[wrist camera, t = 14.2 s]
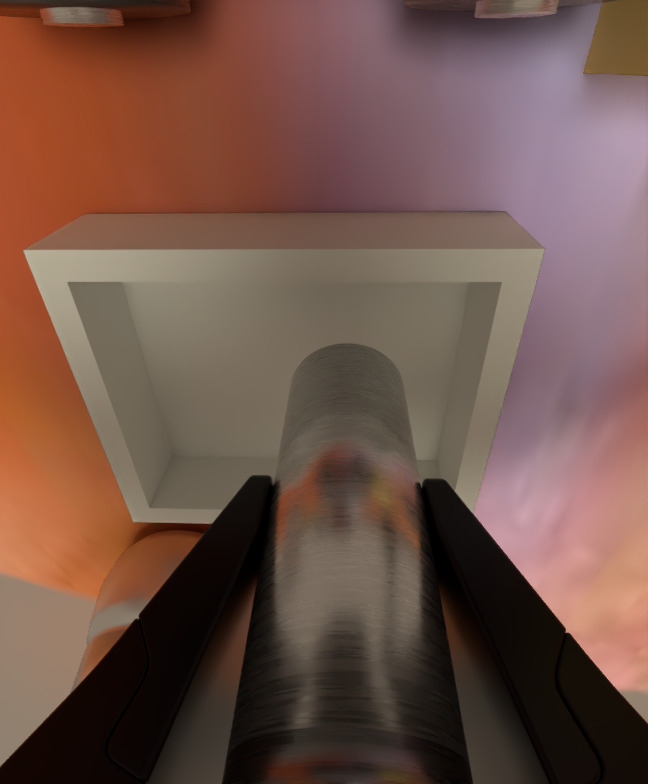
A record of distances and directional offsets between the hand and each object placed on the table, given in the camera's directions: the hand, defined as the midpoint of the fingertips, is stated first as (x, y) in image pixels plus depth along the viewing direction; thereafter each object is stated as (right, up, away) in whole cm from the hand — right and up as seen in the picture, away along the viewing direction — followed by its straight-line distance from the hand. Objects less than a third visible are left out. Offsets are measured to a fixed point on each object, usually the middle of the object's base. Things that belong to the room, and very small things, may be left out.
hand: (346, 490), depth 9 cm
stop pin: (0, +2, +3) cm, 4 cm away
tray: (-1, +3, +6) cm, 7 cm away
